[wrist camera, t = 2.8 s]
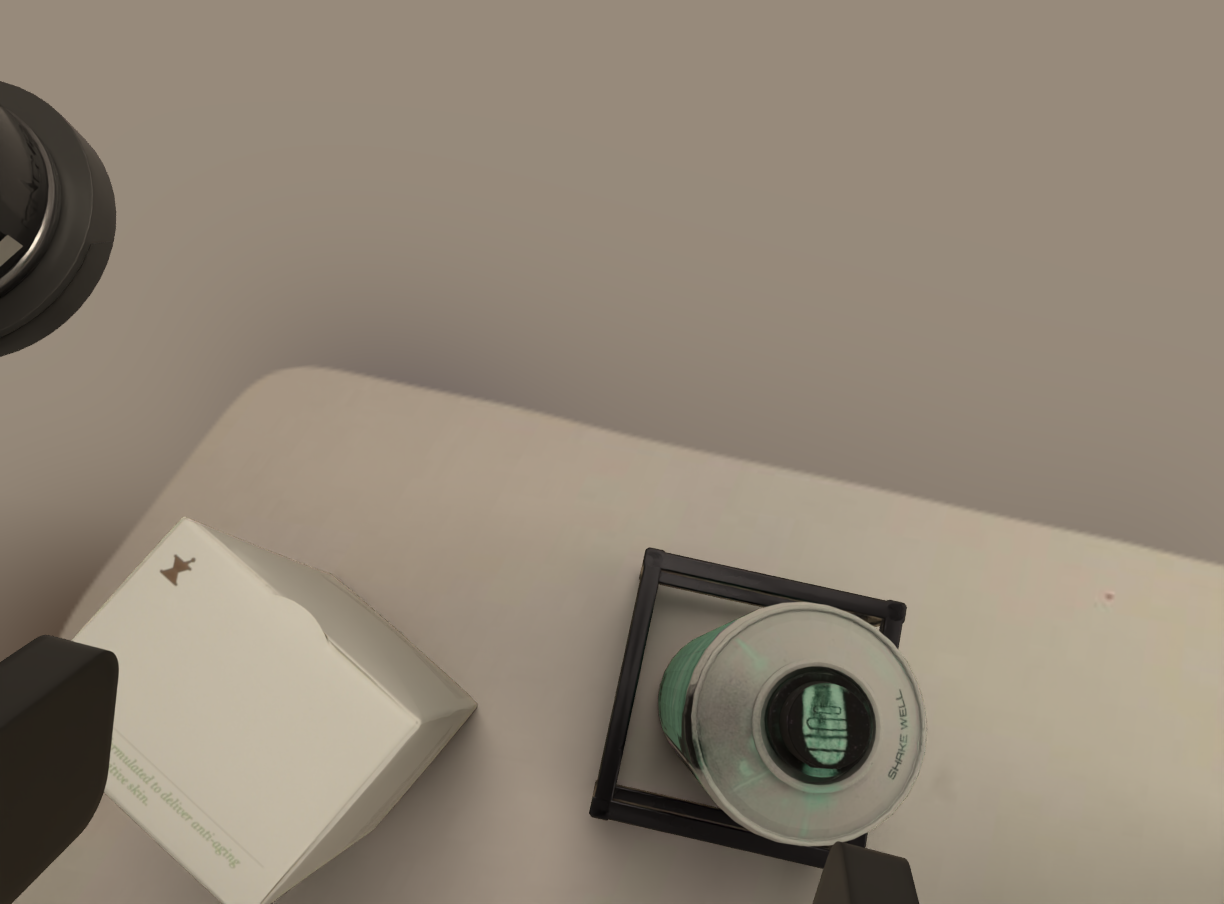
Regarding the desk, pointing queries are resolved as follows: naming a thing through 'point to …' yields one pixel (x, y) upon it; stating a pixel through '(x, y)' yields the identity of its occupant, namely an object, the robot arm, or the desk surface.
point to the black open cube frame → (654, 571)
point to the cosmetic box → (261, 711)
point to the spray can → (797, 722)
